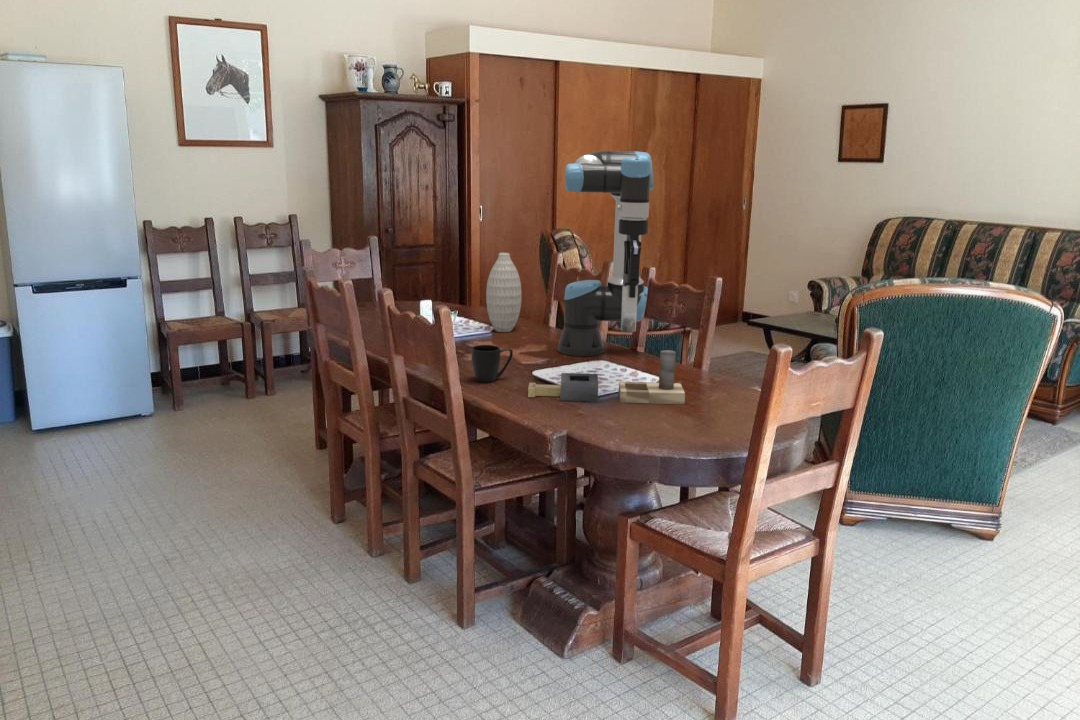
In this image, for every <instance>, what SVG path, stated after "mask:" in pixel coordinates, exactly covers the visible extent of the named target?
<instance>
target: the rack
mask: <svg viewBox="0 0 1080 720" xmlns="http://www.w3.org/2000/svg"><path fill="white" fill-rule="evenodd" d="M676 354H677V352H676V351H674V350H671V349H667V350H665V349H663V350H661V351H660V354H659V355H660V356H659V357H660V358H659V371H658V373H659V376H658V382H652V381H651V382H645V381H618V391H619V392H618V396H619V402H620V403H624V404H625V403H628V404H629V403H631V404H634V403H635V404H657V405H658V404H661V405H685V402H686V401H685V399H686V392H685V390H684V388H683V386H682V383H680V382H675V370H676Z"/></svg>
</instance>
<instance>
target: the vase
mask: <svg viewBox="0 0 1080 720" xmlns="http://www.w3.org/2000/svg"><path fill="white" fill-rule="evenodd" d="M485 293H486V294H485V295H486V296H485V297H486V309H487V314H488V318H489V320H490V323H491V325H492V328H493V329H494V330H495V331H496V332H498V333H509V332H510V333H511V332H512V331H513V329H514V328H515V326H516V324H517V322H518V320H519V316H520V313H521V307H522V282H521V277H520V275H519V271H518V269H517V267H516V265H515V264H514V262H513V261H512V258H511V255H510V253H509V252H499V253H498V257H497V259H496V260H495V263H494V265H493V266H492V268H491V270H490V272H489V275H488V278H487V282H486V292H485Z"/></svg>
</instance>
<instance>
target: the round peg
mask: <svg viewBox="0 0 1080 720" xmlns="http://www.w3.org/2000/svg"><path fill="white" fill-rule="evenodd" d="M627 282H628V273H627V274H623V290H622V313H621V322H620V331H621V332H626V333H634V332H636V331H637V322H636V316H637V303H636V310H626V288H627V285H625V283H627ZM637 295H638V284H637Z"/></svg>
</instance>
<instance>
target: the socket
mask: <svg viewBox="0 0 1080 720" xmlns="http://www.w3.org/2000/svg"><path fill="white" fill-rule="evenodd" d="M599 383H600V382H599V376H598V373H579V372H578V373H576V372H575V373H573V372H561V373H560V385H561V396H560V399H559V400H560V402H590V403H591V402H592V403H593V402H597V403H598V401H599V386H600V385H599Z"/></svg>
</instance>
